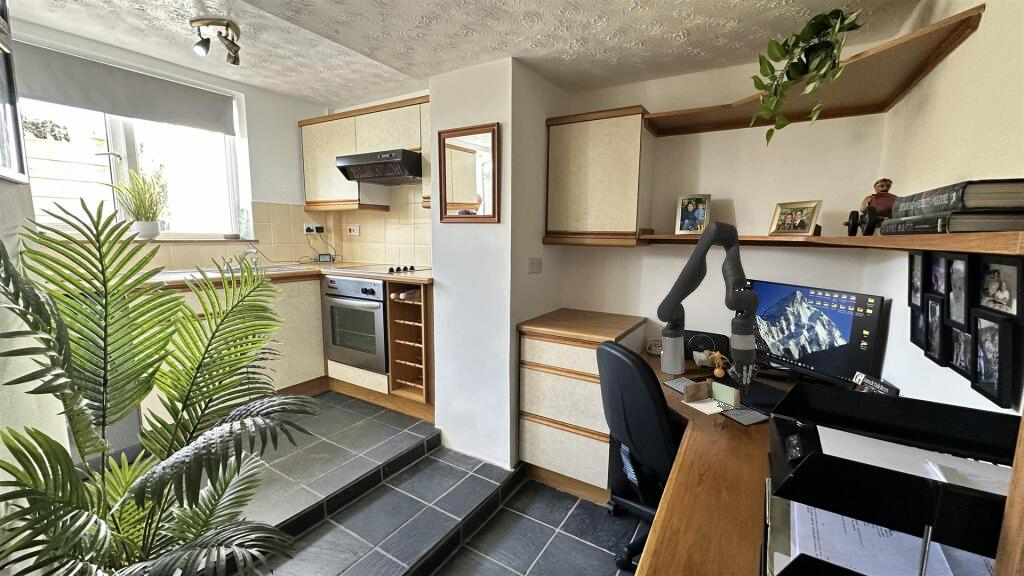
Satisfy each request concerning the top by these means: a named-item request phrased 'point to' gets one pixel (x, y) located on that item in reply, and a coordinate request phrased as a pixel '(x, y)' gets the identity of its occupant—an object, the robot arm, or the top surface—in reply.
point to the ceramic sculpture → (703, 359)
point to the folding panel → (726, 394)
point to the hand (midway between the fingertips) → (744, 393)
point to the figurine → (718, 371)
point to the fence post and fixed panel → (698, 391)
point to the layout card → (708, 406)
